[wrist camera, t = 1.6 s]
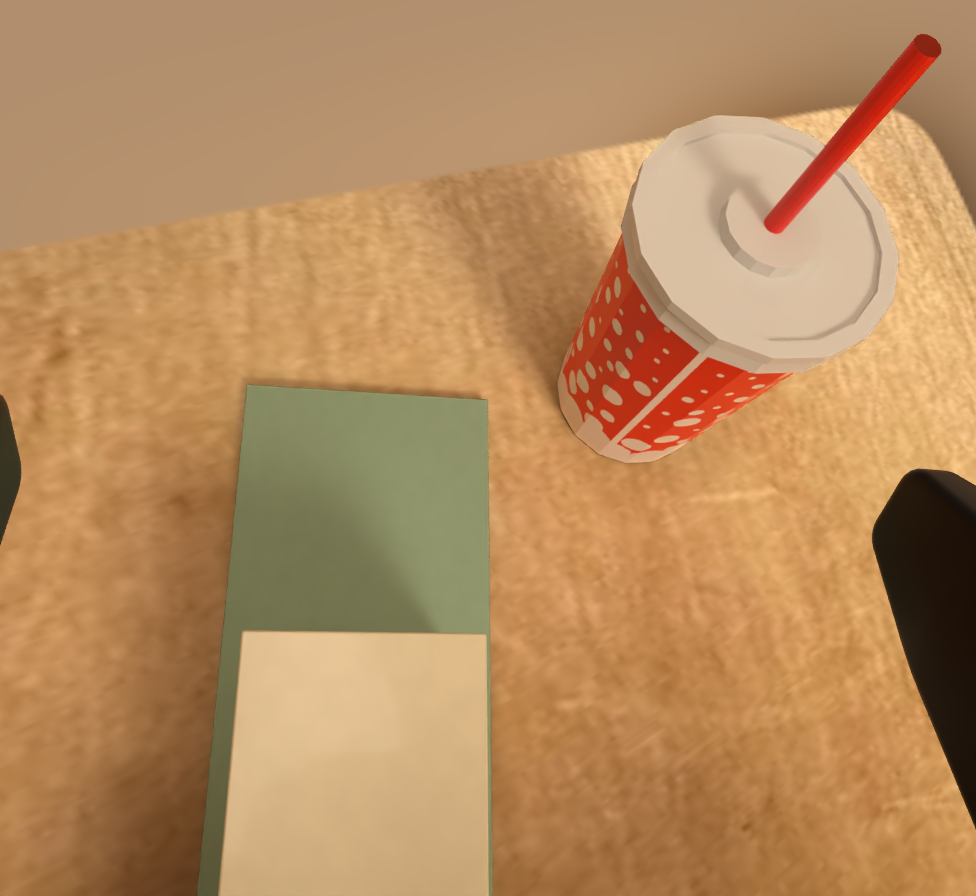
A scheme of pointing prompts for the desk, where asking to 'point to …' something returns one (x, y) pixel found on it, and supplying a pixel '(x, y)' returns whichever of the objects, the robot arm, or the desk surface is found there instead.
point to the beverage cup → (732, 275)
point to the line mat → (351, 537)
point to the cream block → (358, 766)
